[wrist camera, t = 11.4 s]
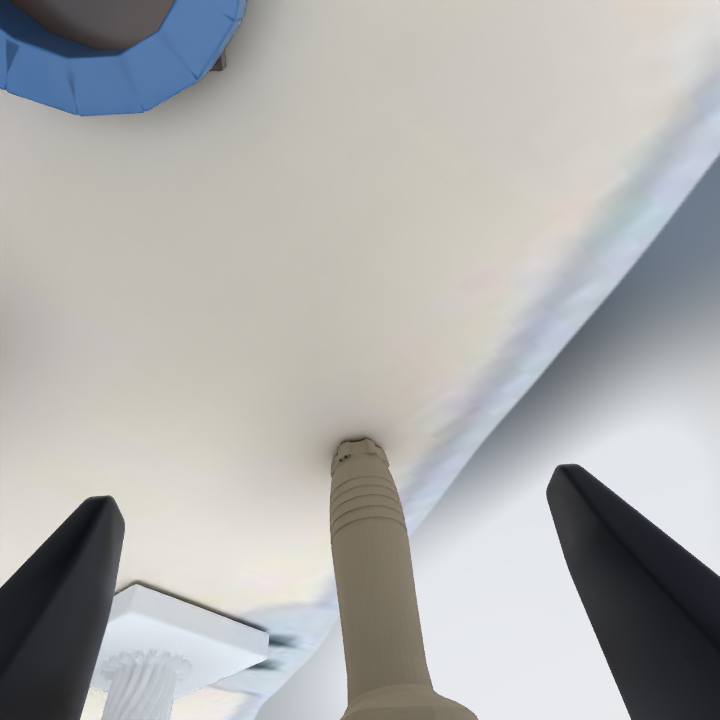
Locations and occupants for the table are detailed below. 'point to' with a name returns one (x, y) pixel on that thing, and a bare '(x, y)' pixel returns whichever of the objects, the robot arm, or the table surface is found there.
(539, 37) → the table surface
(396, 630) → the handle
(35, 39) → the tape
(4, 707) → the robot arm
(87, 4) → the peg stand
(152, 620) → the trophy
